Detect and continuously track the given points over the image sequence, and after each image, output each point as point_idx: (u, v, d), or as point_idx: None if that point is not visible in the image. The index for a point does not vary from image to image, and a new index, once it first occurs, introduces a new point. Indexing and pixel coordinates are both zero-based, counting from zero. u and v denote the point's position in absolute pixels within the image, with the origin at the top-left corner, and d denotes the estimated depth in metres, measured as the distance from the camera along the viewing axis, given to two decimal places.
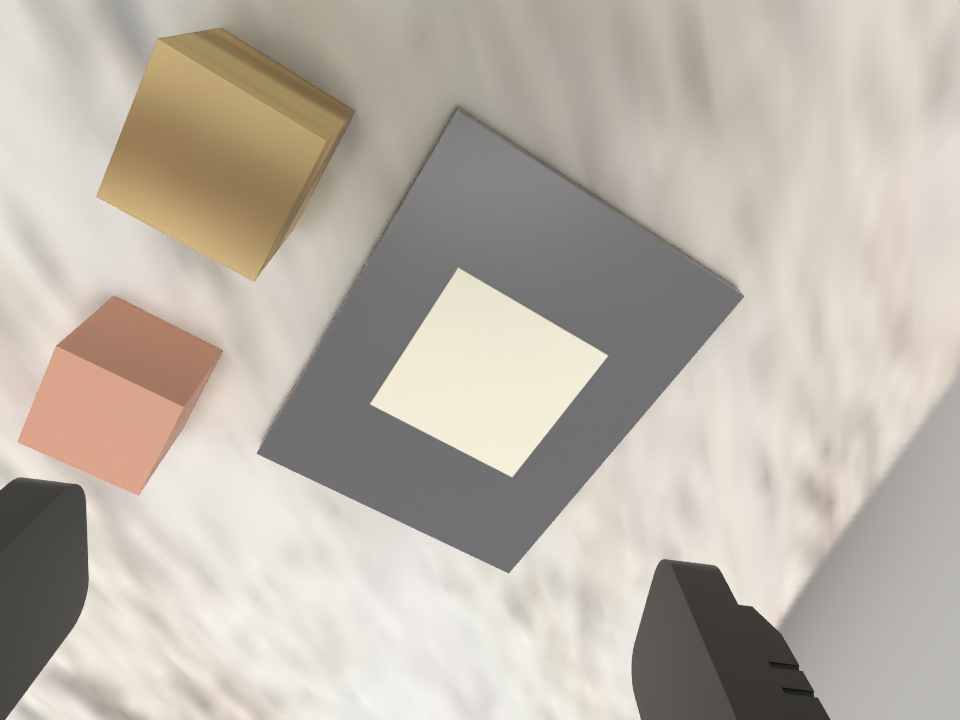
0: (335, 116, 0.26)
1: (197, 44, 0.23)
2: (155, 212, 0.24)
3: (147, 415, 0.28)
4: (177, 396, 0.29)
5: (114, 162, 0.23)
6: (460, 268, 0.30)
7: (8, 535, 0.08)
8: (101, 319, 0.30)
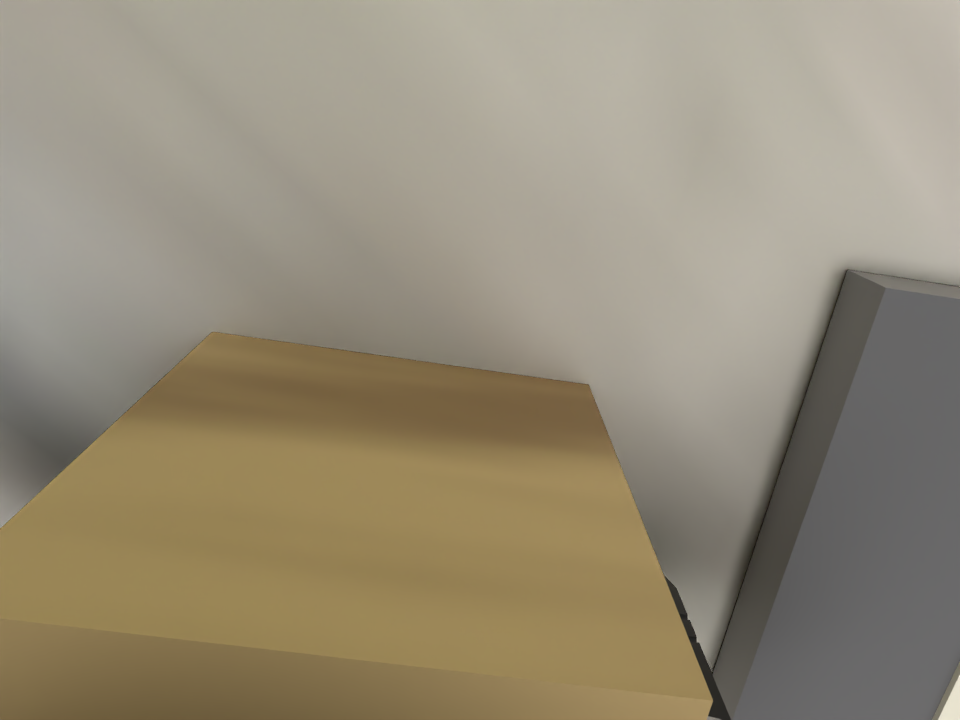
0: (590, 461, 0.08)
1: (125, 475, 0.07)
2: None
3: None
4: None
5: None
6: None
7: None
8: None
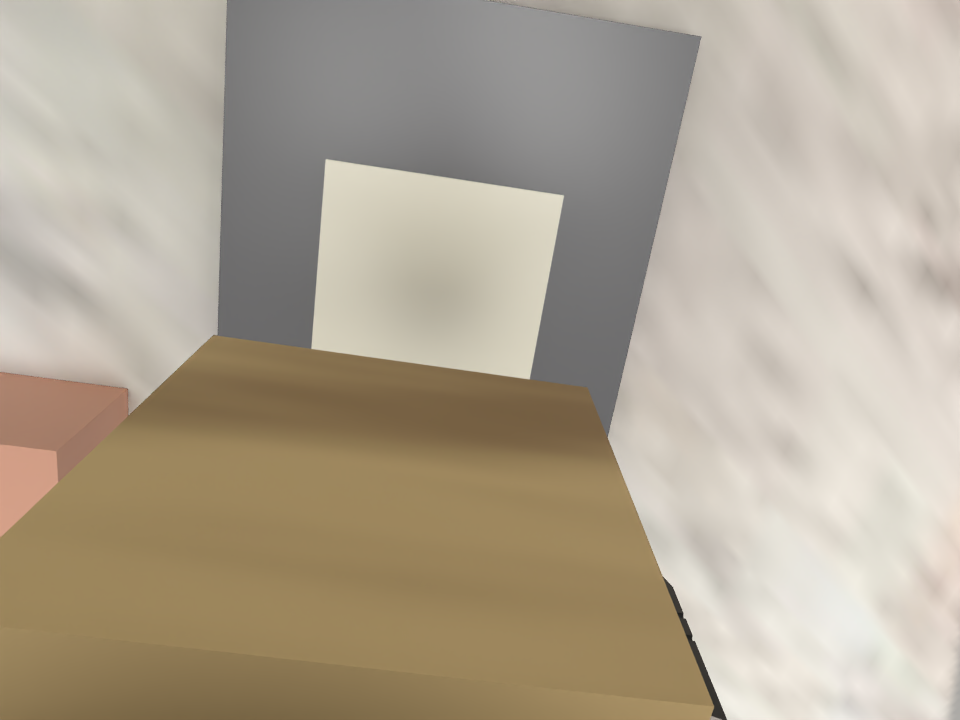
0: (590, 465, 0.08)
1: (126, 481, 0.07)
2: None
3: (23, 478, 0.22)
4: (49, 443, 0.22)
5: None
6: (329, 159, 0.23)
7: None
8: None
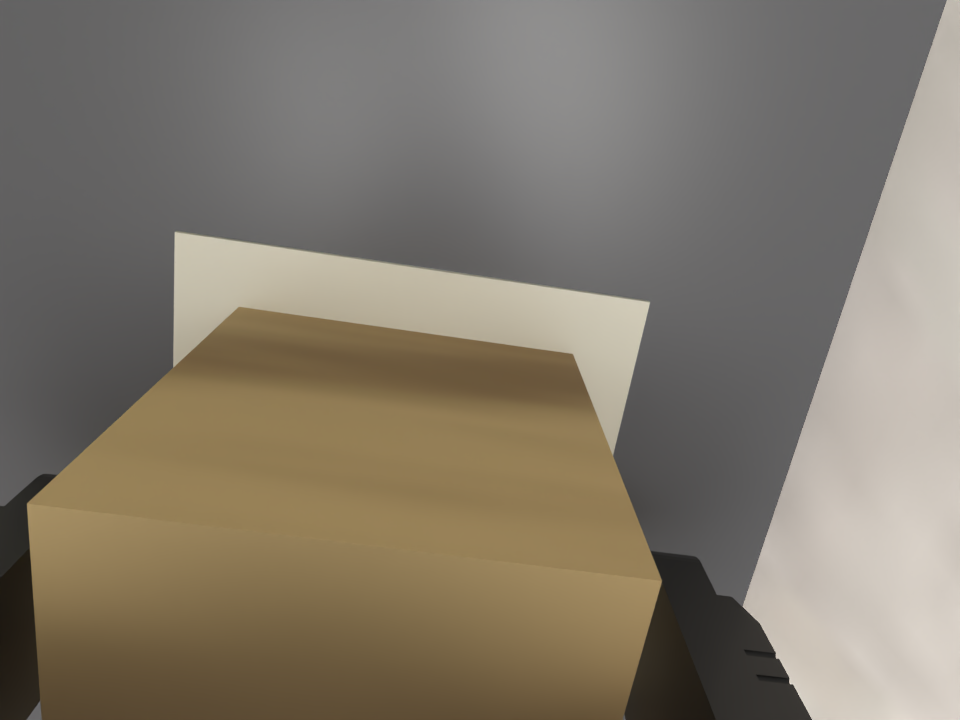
0: (571, 413, 0.10)
1: (178, 416, 0.08)
2: None
3: None
4: None
5: None
6: (183, 232, 0.11)
7: None
8: None
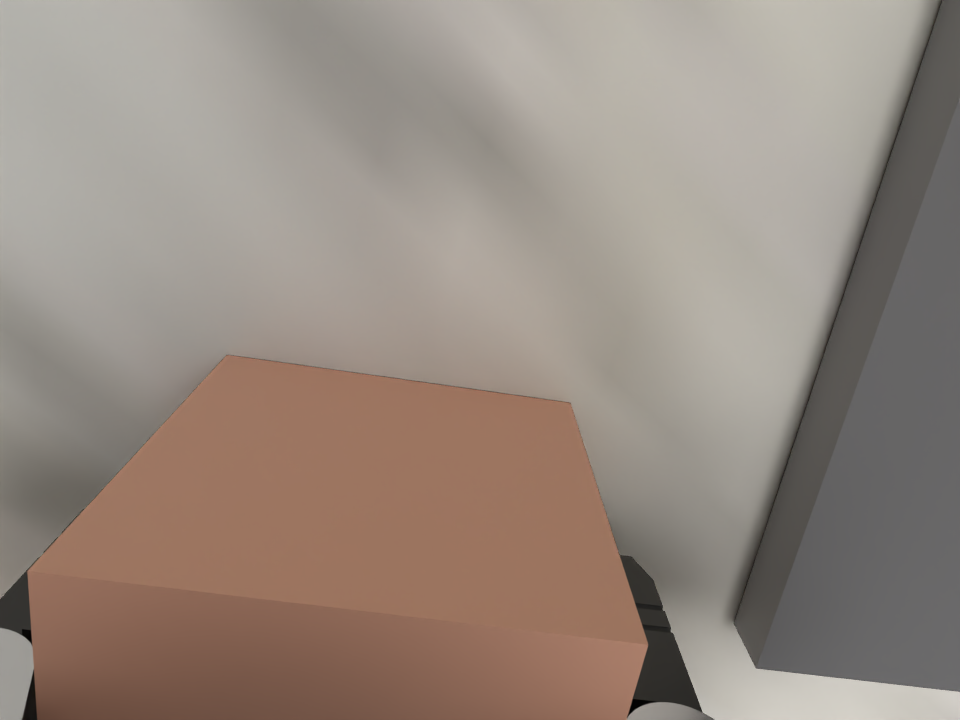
0: None
1: None
2: None
3: None
4: (592, 604, 0.06)
5: None
6: None
7: None
8: (202, 422, 0.08)
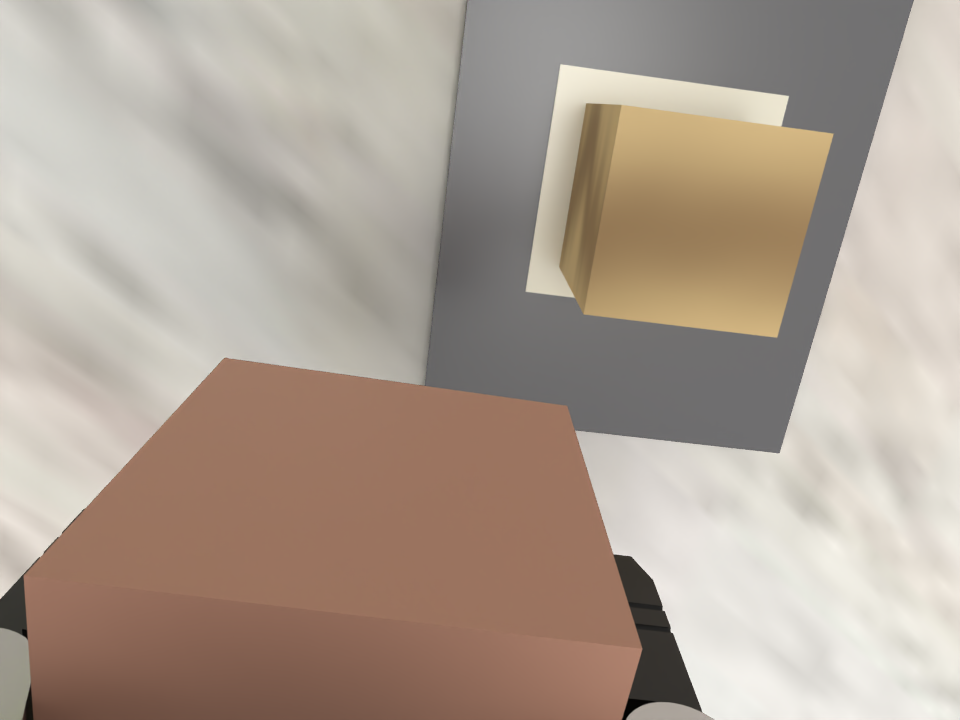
0: None
1: None
2: (650, 304, 0.20)
3: None
4: (586, 608, 0.06)
5: (597, 266, 0.20)
6: (563, 65, 0.24)
7: None
8: (199, 425, 0.08)
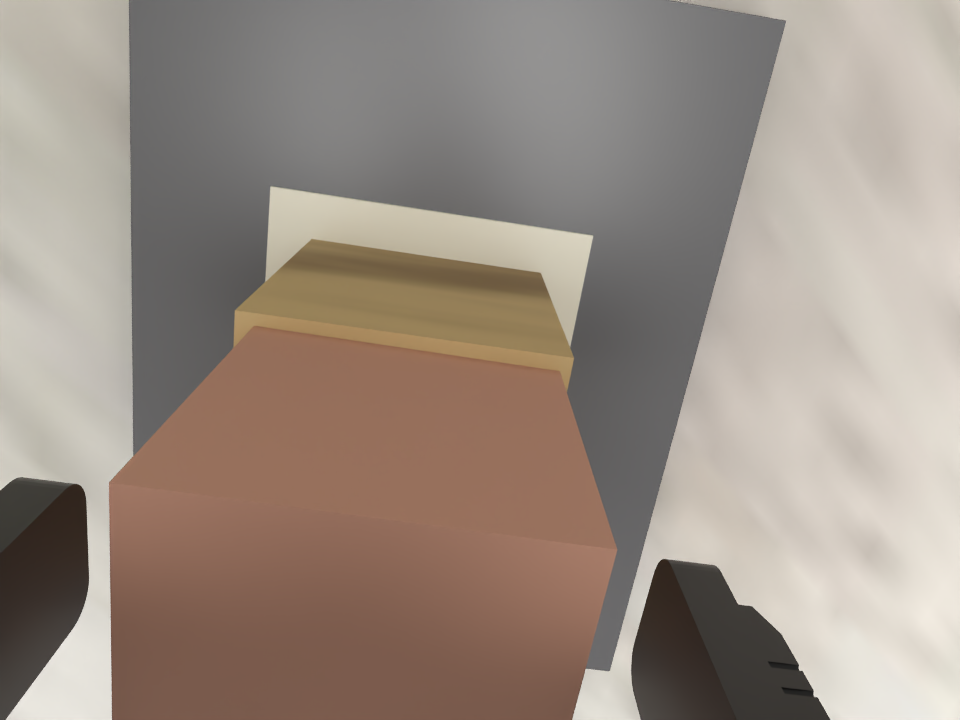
0: (534, 298, 0.15)
1: (296, 285, 0.13)
2: None
3: (496, 623, 0.08)
4: (571, 521, 0.08)
5: None
6: (276, 187, 0.17)
7: (9, 535, 0.08)
8: (238, 378, 0.10)
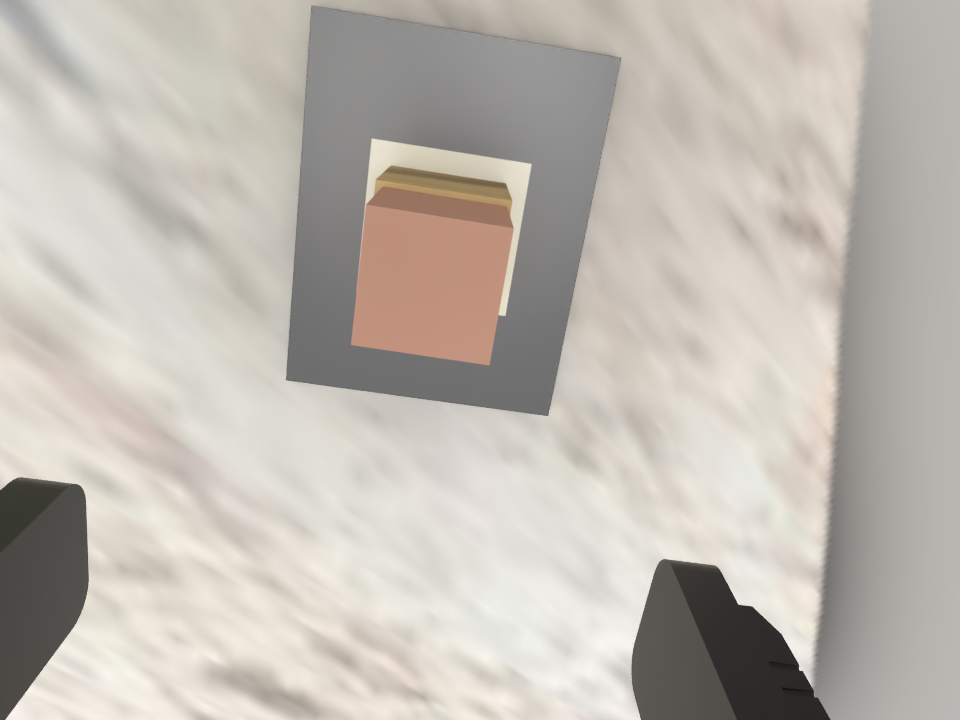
0: (500, 188, 0.32)
1: (393, 176, 0.31)
2: None
3: (477, 255, 0.25)
4: (501, 224, 0.25)
5: None
6: (374, 138, 0.34)
7: (8, 535, 0.08)
8: (386, 195, 0.27)
